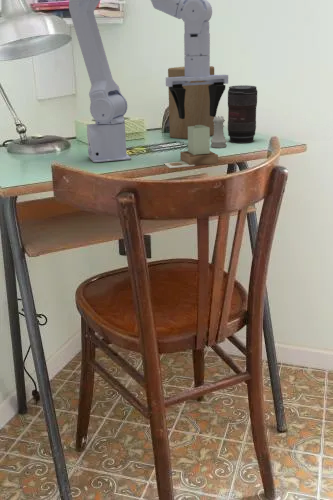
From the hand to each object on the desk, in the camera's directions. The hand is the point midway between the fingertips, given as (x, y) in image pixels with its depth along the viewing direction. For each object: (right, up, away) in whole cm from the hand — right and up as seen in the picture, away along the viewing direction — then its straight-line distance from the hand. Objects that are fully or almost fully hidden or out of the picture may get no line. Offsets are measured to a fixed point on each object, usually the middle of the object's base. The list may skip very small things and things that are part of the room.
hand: (197, 117), depth 126 cm
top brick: (0, -8, +2) cm, 8 cm away
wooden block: (+1, +3, +37) cm, 37 cm away
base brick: (+1, -10, +3) cm, 10 cm away
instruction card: (-4, -11, 0) cm, 12 cm away
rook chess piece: (+7, -3, +21) cm, 22 cm away
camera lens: (+14, 0, +27) cm, 31 cm away
